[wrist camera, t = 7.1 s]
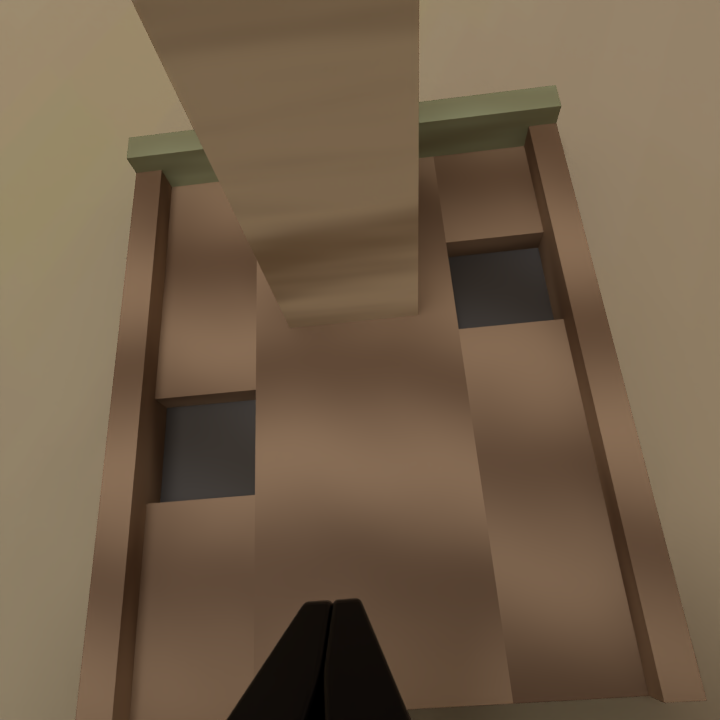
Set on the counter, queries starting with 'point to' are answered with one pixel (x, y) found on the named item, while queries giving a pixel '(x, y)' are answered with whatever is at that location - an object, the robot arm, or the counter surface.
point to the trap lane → (379, 450)
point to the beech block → (308, 140)
